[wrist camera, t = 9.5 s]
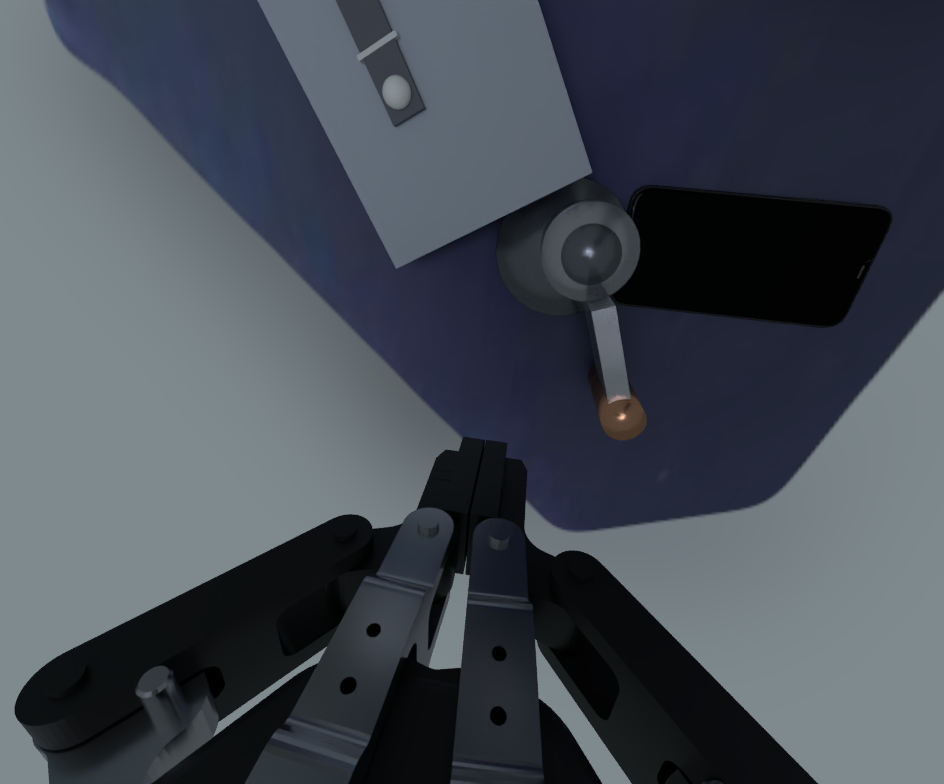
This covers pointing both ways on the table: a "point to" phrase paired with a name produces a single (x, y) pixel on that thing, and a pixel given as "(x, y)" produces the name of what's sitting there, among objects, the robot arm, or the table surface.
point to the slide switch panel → (435, 109)
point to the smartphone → (751, 254)
